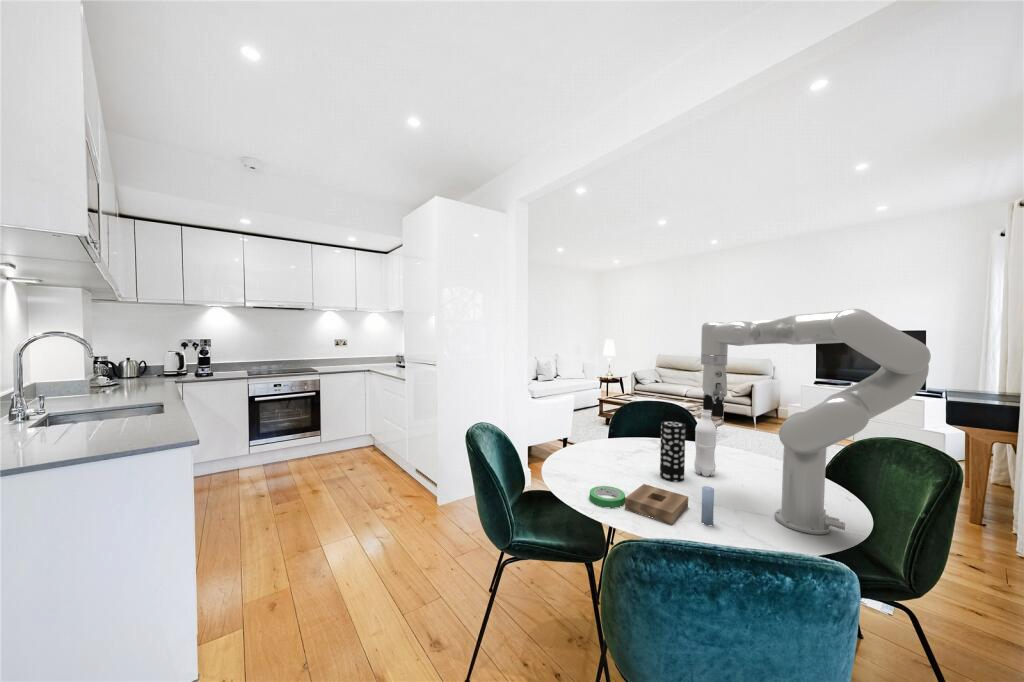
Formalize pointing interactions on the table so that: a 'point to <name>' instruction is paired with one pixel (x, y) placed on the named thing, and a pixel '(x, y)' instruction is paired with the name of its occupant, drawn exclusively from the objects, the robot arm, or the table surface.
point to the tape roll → (607, 501)
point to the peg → (707, 505)
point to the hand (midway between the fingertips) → (712, 412)
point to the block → (657, 503)
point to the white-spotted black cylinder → (672, 451)
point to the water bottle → (705, 445)
